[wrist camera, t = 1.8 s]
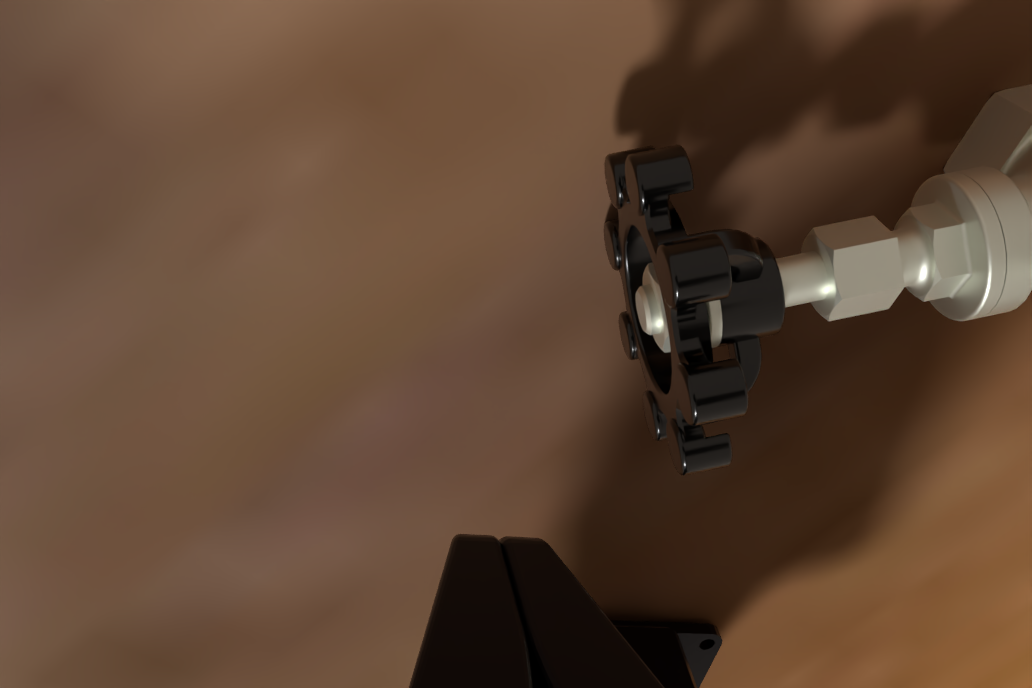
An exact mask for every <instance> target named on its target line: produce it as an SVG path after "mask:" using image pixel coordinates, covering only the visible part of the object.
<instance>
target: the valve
mask: <svg viewBox="0 0 1032 688" xmlns="http://www.w3.org/2000/svg"><path fill="white" fill-rule="evenodd" d="M943 171H944V173H945V174H940V175H936V176H933V177H931V178H929V179H927V180H926V181H925V182H924V183H923V184H922V185H921V186H920V187H919V189H918V190H917V192H916V194H915V196H914V198H913V200H912V204H911V207H910V208H909V209H908V210H907V211H906V212H905V213H904V214H903V215H902V216H901V217H900V219H899V220H898V221H897V223H896V225H895V227H894V230H893V231H890V230H889V229H888V228H887V227H886V226H884V225H883V224H882V223H881V222H880V221H879V220H878V219H877V218H876V217H875V216H874V215H872V216H868V217H863V218H858V219H853V220H848V221H843V222H838V223H833V224H828V225H823V226H818V227H813V228H812V229H811V231H810V232H809V233H808V234H807V236H806V238H805V239H804V241H803V244H802V247H801V254H796V255H791V256H786V257H781V258H776V259H775V257H774V255H773V253H772V251H771V249H770V248H769V246H768V245H767V244H766V243H765V242H764V241H763V240H762V239H760V238H757V237H756V238H753V237H752V236H751V235H749V234H748V233H746V232H743V231H739V230H732V229H720V230H712V231H706V232H701V233H696V234H691V235H687V234H686V232H685V229H684V227H683V224H682V222H681V220H680V218H679V216H678V214H677V212H676V210H675V208H674V207H673V205H672V204H671V202H670V201H669V195H671V194H676V193H681V192H686V191H691V190H692V189H694V184H693V175H692V169H691V165H690V161H689V158H688V156H687V153H686V151H685V150H684V148H683V147H682V146H680V145H674V146H669V147H664V148H659V149H656V148H655V147H653V146H647V147H642V148H637V149H632V150H627V151H622V152H617V153H612V154H609V155H607V156H606V158H605V178H606V184H607V189H608V193H609V197H610V200H611V202H612V204H613V206H614V207H615V208H617V209H618V216H619V219H616V220H611V221H607V222H606V223H605V225H604V240H605V246H606V251H607V255H608V259H609V262H610V264H611V266H612V268H613V269H614V270H617V271H618V270H619V272H620V275H621V279H622V283H623V289H624V295H625V301H626V309H627V311H625V312H622V313H621V314H620V315H619V329H620V335H621V340H622V344H623V347H624V351H625V353H626V355H627V357H628V358H629V359H630V360H635V359H639V360H640V363H641V366H642V370H643V373H644V376H645V381H646V386H647V390H646V391H645V392H644V394H643V407H644V413H645V418H646V422H647V426H648V429H649V431H650V434H651V436H652V438H653V439H654V440H656V441H662V440H666V439H667V441H668V446H669V450H670V454H671V457H672V460H673V463H674V466H675V468H676V470H677V471H678V473H679V474H681V475H683V476H684V475H690V474H694V473H699V472H704V471H709V470H713V469H718V468H723V467H727V466H729V465H730V464H731V462H732V446H731V440H730V435H729V434H727V433H725V434H720V435H716V436H711V437H706V436H705V433H704V429H703V426H702V425H703V424H708V423H713V422H717V421H722V420H727V419H732V418H736V417H741V416H744V415H745V414H746V413H747V410H748V392H749V391H750V389H751V388H752V387H753V385H754V383H755V381H756V379H757V378H758V375H759V372H760V368H761V360H762V353H761V344H760V339H759V338H762V337H767V336H772V335H775V334H777V333H778V332H780V330H781V328H782V326H783V322H784V318H785V307H790V306H794V305H799V304H804V303H809V302H811V304H812V306H813V307H814V309H815V310H816V311H817V312H818V313H819V314H820V315H821V316H822V317H824V318H825V319H826V320H828V321H833V320H838V319H843V318H848V317H853V316H858V315H862V314H867V313H872V312H877V311H882V310H887V309H889V308H890V306H891V305H892V304H893V302H894V301H895V300H896V298H897V297H898V296H899V294H900V293H901V291H902V290H903V289H904V287H906V288H907V290H908V291H909V292H911V293H912V294H913V295H914V296H915V297H917V298H919V299H920V300H922V301H923V302H925V301H929V302H930V303H931V304H932V305H933V306H934V308H935V309H936V310H937V311H939V312H940V313H941V314H942V315H944V316H945V317H947V318H949V319H951V320H956V321H967V320H972V319H976V318H980V317H986V316H991V315H996V314H1000V313H1005V312H1009V311H1012V310H1014V309H1016V308H1018V307H1019V306H1020V305H1021V304H1022V303H1023V302H1024V301H1025V300H1026V299H1027V297H1028V296H1029V294H1030V292H1031V290H1032V84H1030V85H1025V86H1020V87H1015V88H1010V89H1005V90H1002V91H999V92H996V93H994V94H993V95H992V96H991V98H990V99H989V100H988V101H987V102H986V103H985V105H984V106H983V108H982V109H981V111H980V112H979V114H978V115H977V117H976V118H975V120H974V121H973V123H972V124H971V126H970V128H969V129H968V131H967V132H966V134H965V135H964V137H963V138H962V140H961V141H960V143H959V144H958V146H957V147H956V149H955V150H954V152H953V153H952V155H951V156H950V158H949V159H948V161H947V163H946V165H945V167H944V169H943ZM723 345H728V348H729V354H730V359H728V360H723V361H718V362H714V363H713V356H712V348H714V347H718V346H723Z"/></svg>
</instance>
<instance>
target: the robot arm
mask: <svg viewBox="0 0 1032 688" xmlns="http://www.w3.org/2000/svg"><path fill="white" fill-rule="evenodd" d="M721 644H722V639H721V636H720V634H719V631H718V629H717V627H716V626H714V625H712V624H699V623H666V622H634V621H610V620H609V619H608V617H607V616H606V615H605V614H604V612H603V611H602V610H601V609H600V607H599V606H598V605H597V604H596V602H595V601H594V600H593V599H592V598H591V596H590V595H589V594H588V593H587V591H586V590H585V589H584V588H583V586H582V585H581V584H580V583H579V581H578V580H577V579H576V578H575V576H574V575H573V574H572V573H571V572H570V570H569V569H568V568H567V567H566V565H565V564H564V563H563V562H562V560H561V559H560V558H559V557H558V555H557V554H556V553H555V552H554V551H553V549H552V548H551V547H550V546H549V545H548V543H546V542H545V541H544V540H542V539H539V538H527V537H509V536H507V537H503V538H501V539H500V540H499V541H498V539H497V538H495V537H494V536H490V535H470V534H458V535H456V536H455V537H454V538H453V539H452V542H451V545H450V549H449V552H448V556H447V559H446V562H445V566H444V569H443V573H442V576H441V580H440V583H439V586H438V590H437V593H436V597H435V600H434V604H433V607H432V610H431V614H430V617H429V621H428V624H427V627H426V631H425V634H424V638H423V641H422V645H421V648H420V651H419V655H418V658H417V662H416V665H415V668H414V672H413V675H412V679H411V682H410V686H409V688H699V687H700V685H701V683H702V681H703V679H704V677H705V675H706V673H707V671H708V669H709V668H710V666H711V664H712V662H713V660H714V658H715V656H716V654H717V652H718V650H719V648H720V646H721Z"/></svg>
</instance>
